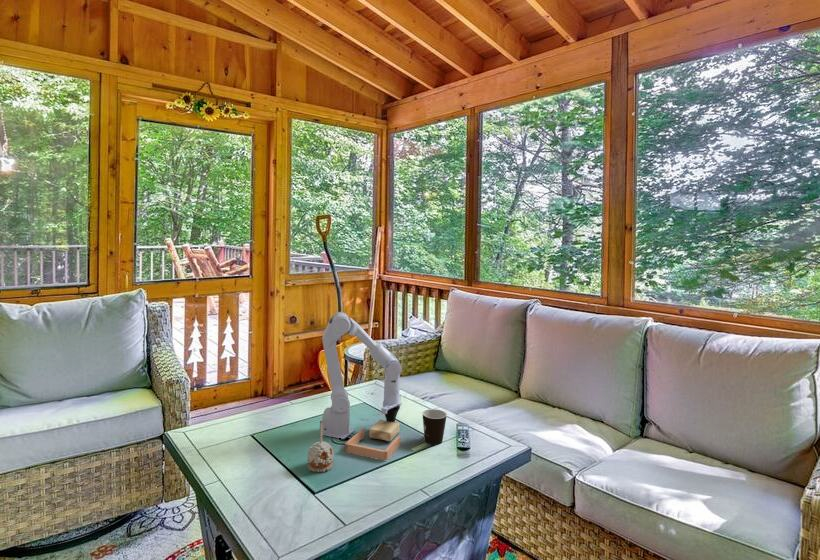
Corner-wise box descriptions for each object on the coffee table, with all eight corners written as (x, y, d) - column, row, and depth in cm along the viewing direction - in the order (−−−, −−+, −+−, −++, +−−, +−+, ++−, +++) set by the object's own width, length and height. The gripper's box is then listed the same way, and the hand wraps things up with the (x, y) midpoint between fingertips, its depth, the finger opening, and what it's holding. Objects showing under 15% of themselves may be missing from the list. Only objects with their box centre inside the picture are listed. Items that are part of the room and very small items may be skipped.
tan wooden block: (369, 439, 163) (369, 428, 163) (379, 429, 172) (379, 419, 171) (390, 443, 161) (390, 432, 160) (399, 433, 169) (399, 423, 169)
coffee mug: (443, 447, 159) (445, 419, 158) (419, 444, 161) (420, 417, 160) (447, 433, 171) (449, 407, 170) (425, 430, 172) (426, 405, 171)
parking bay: (344, 452, 153) (344, 443, 153) (361, 436, 165) (361, 428, 165) (386, 461, 148) (386, 452, 148) (400, 444, 160) (400, 436, 160)
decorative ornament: (321, 476, 138) (322, 428, 137) (302, 468, 142) (303, 421, 141) (338, 465, 145) (339, 419, 143) (319, 458, 149) (320, 413, 147)
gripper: (394, 398, 162) (393, 435, 163) (408, 385, 175) (407, 420, 177) (376, 395, 164) (375, 431, 165) (391, 383, 178) (390, 417, 179)
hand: (390, 425), depth 171 cm, fingers closed
